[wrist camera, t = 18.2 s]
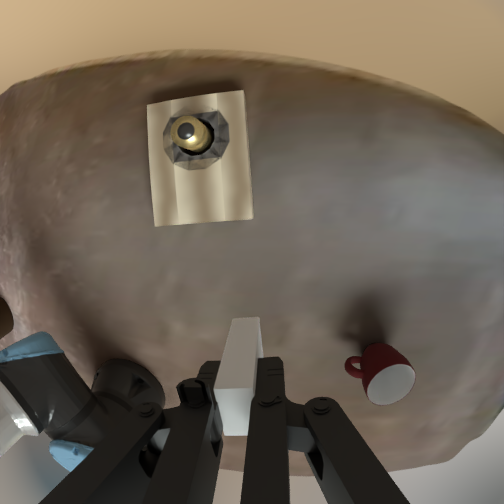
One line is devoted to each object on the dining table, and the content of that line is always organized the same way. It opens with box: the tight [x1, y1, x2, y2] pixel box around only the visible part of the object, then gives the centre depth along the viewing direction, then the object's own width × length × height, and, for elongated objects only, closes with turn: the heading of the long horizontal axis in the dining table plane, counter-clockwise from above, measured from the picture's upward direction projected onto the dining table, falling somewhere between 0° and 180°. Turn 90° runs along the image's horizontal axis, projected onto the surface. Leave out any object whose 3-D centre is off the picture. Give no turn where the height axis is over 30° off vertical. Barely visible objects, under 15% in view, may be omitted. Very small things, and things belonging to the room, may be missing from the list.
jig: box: [147, 90, 254, 226], centre depth 41 cm, size 14×18×3 cm
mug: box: [345, 343, 416, 406], centre depth 42 cm, size 10×8×10 cm
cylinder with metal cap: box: [170, 116, 215, 153], centre depth 38 cm, size 4×4×8 cm
